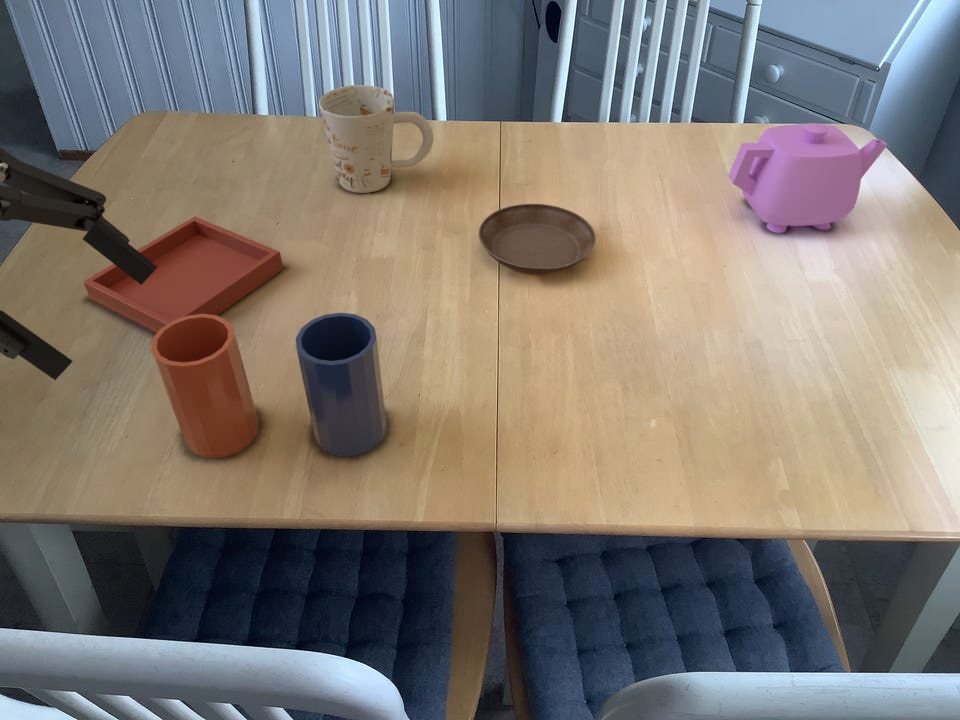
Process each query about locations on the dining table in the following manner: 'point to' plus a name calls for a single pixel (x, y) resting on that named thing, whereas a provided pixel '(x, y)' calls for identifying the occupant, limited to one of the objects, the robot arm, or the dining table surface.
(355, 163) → the mug
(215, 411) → the terracotta tumbler
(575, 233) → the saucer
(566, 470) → the dining table surface
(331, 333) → the blue tumbler
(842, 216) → the teapot
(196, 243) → the red tray
